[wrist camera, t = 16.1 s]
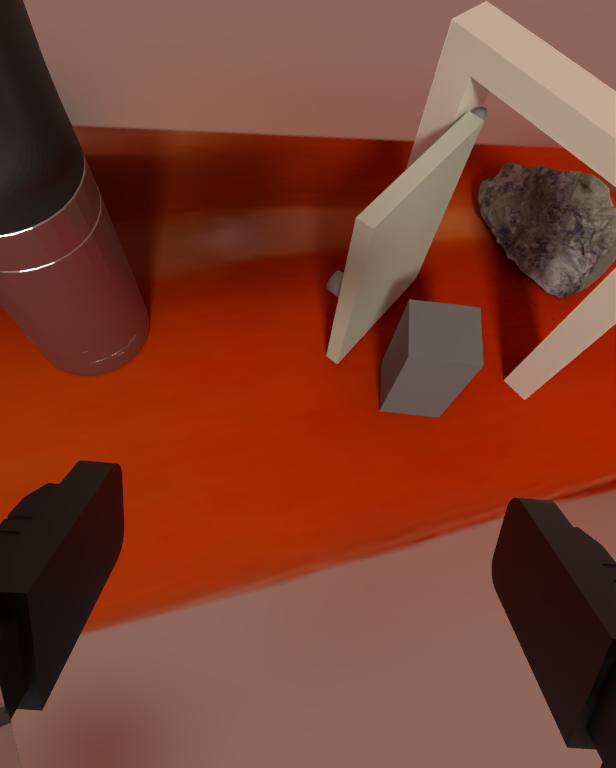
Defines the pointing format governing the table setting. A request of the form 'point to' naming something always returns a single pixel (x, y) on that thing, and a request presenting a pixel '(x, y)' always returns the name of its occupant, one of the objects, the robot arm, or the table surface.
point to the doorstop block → (430, 358)
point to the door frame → (551, 115)
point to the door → (397, 235)
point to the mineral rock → (551, 224)
